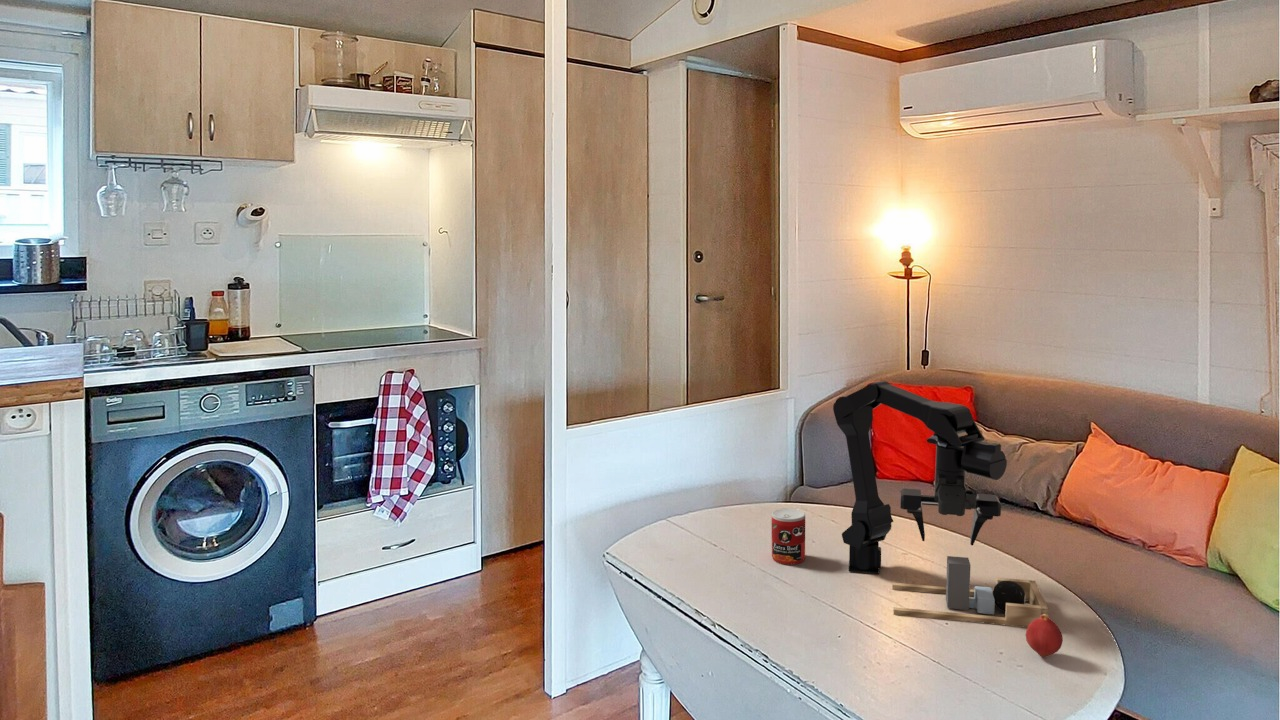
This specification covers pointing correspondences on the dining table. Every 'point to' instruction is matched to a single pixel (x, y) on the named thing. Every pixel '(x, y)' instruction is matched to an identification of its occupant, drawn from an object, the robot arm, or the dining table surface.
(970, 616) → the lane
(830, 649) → the dining table surface
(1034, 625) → the onion
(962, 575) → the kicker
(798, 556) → the canned food
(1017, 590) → the billiard ball
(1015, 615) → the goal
